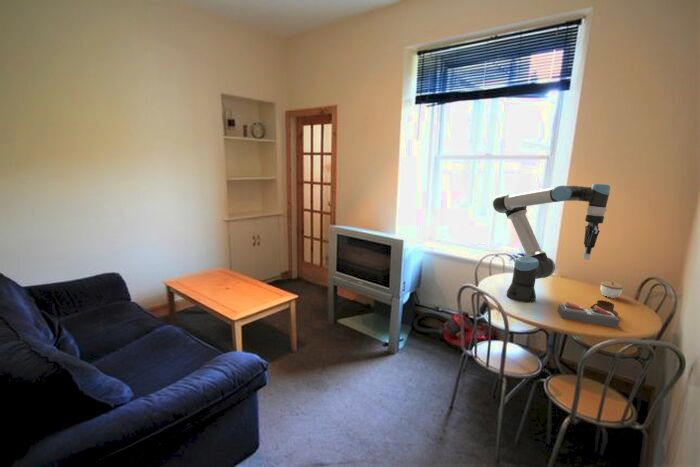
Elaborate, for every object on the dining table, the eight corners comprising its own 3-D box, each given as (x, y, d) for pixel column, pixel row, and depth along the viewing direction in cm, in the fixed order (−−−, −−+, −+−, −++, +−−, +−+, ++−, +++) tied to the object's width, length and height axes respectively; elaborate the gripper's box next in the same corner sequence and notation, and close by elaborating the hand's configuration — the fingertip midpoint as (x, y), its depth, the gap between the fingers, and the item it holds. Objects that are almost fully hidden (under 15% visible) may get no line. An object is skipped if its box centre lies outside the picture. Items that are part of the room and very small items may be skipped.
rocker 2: (595, 309, 169) (597, 307, 169) (593, 307, 172) (594, 304, 172) (610, 316, 168) (612, 314, 167) (607, 313, 171) (609, 311, 170)
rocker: (568, 306, 173) (569, 303, 172) (566, 303, 176) (567, 301, 176) (582, 311, 171) (584, 309, 171) (580, 308, 174) (581, 306, 174)
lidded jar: (617, 301, 200) (621, 286, 198) (596, 295, 208) (599, 280, 206) (622, 297, 206) (625, 283, 204) (601, 291, 214) (604, 277, 212)
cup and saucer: (605, 319, 174) (608, 308, 172) (584, 309, 185) (586, 299, 184) (623, 318, 177) (625, 307, 176) (600, 308, 188) (603, 297, 187)
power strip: (561, 318, 172) (563, 309, 171) (557, 311, 180) (559, 302, 179) (617, 327, 165) (620, 318, 164) (610, 320, 173) (612, 311, 172)
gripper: (609, 217, 165) (598, 263, 170) (599, 213, 178) (589, 257, 183) (591, 215, 168) (581, 261, 173) (582, 212, 180) (573, 255, 185)
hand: (585, 259), depth 178 cm, fingers closed
